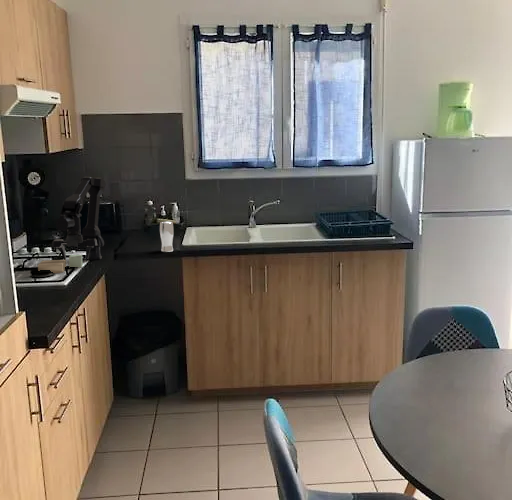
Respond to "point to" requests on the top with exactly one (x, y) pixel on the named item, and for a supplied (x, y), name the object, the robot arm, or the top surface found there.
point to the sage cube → (75, 261)
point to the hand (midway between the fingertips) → (75, 261)
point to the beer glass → (166, 236)
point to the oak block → (52, 265)
